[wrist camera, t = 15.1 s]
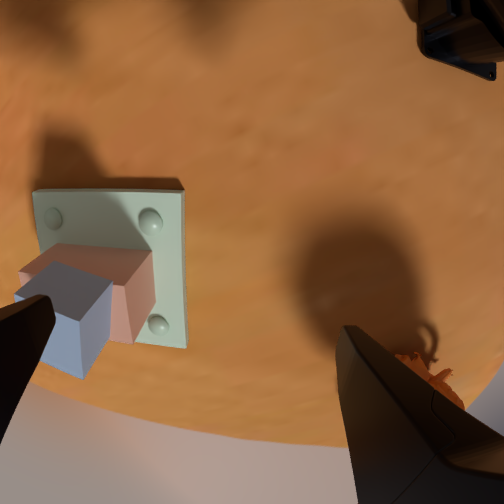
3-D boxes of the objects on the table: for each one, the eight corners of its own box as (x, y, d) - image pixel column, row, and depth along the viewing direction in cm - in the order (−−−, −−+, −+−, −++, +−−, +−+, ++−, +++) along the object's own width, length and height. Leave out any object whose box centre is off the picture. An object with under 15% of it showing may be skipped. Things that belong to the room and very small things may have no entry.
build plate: (184, 190, 20) (179, 194, 19) (188, 340, 25) (185, 350, 24) (39, 189, 21) (29, 193, 19) (63, 321, 25) (56, 329, 24)
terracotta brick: (152, 250, 21) (124, 286, 16) (156, 302, 23) (133, 344, 18) (56, 243, 21) (18, 271, 17) (65, 289, 23) (32, 323, 18)
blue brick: (113, 281, 16) (79, 321, 13) (110, 336, 18) (83, 379, 14) (54, 260, 16) (14, 293, 12) (56, 315, 18) (24, 352, 14)
